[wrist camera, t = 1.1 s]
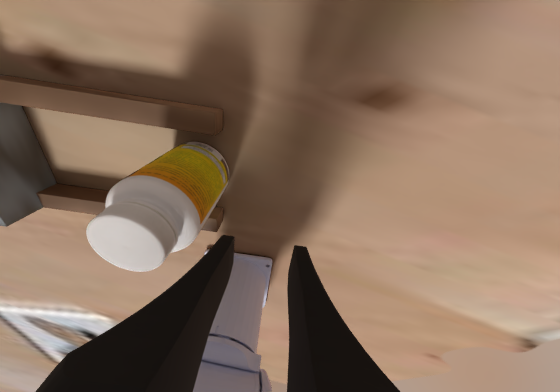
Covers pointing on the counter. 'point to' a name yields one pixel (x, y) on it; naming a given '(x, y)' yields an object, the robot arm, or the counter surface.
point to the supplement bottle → (159, 207)
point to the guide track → (84, 101)
